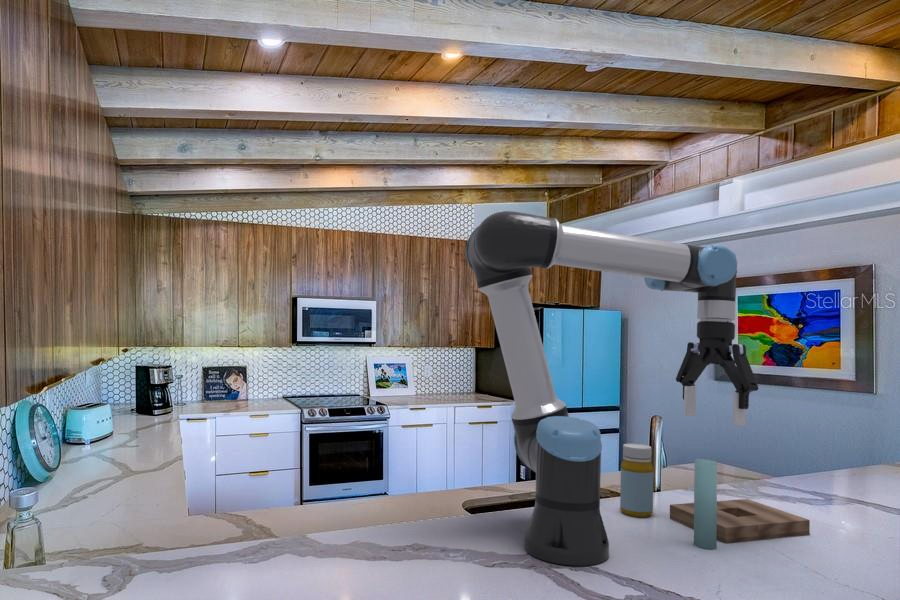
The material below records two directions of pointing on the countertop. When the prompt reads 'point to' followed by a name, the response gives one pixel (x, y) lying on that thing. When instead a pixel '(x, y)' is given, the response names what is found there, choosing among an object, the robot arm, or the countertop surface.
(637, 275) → the robot arm
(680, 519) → the bore block
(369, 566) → the countertop surface
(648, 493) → the bottle
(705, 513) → the pin
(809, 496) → the countertop surface
